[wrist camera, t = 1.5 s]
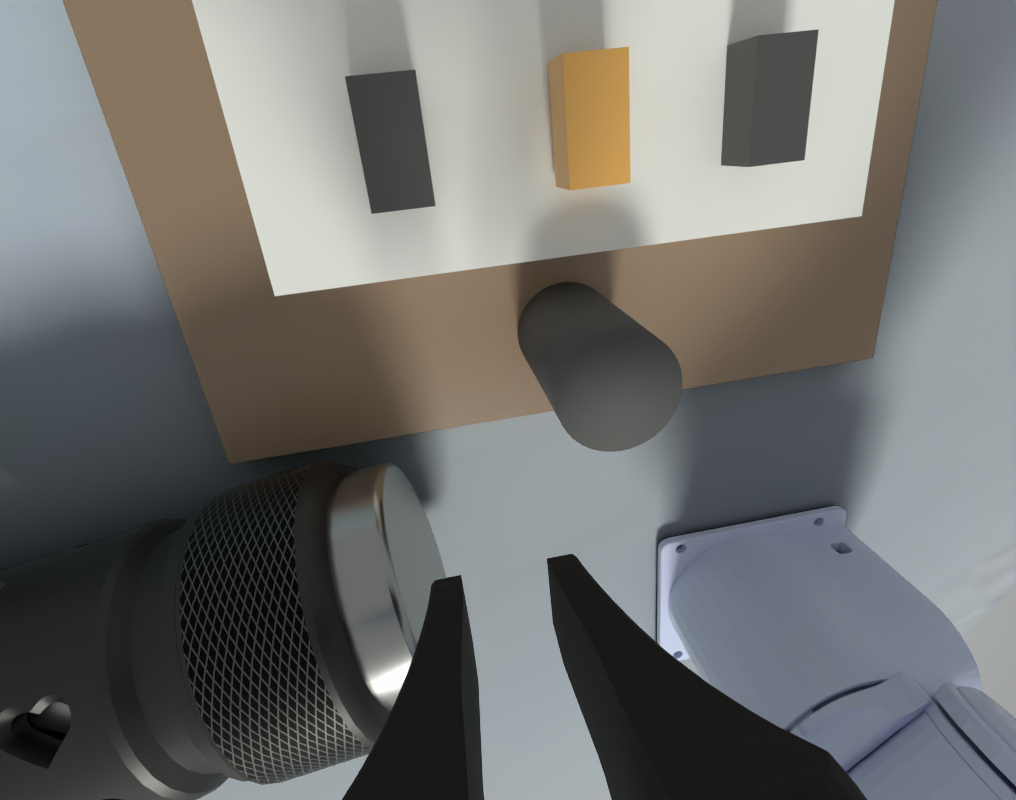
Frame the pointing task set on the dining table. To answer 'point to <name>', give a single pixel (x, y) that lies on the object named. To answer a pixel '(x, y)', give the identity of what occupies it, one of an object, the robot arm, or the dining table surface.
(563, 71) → the orange block
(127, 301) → the dining table surface
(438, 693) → the robot arm
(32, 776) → the muzzle brake
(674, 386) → the post
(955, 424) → the dining table surface
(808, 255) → the breaker panel
